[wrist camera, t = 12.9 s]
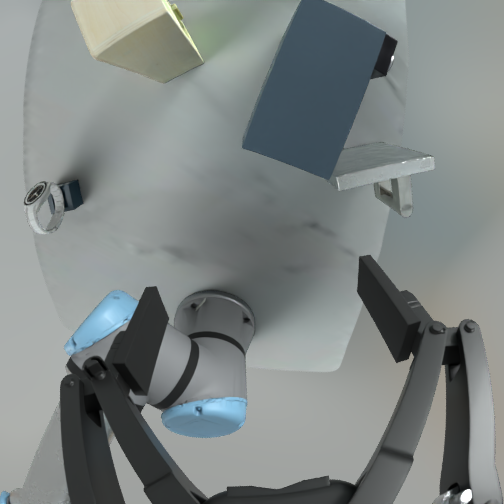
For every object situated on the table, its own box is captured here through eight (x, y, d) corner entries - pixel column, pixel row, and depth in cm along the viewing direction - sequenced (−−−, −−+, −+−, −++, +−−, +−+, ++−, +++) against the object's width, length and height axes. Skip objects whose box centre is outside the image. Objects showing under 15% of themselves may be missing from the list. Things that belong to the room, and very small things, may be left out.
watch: (75, 168, 37) (35, 186, 27) (85, 213, 40) (50, 240, 30) (53, 175, 37) (13, 193, 27) (63, 217, 40) (27, 243, 31)
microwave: (356, 62, 31) (405, 44, 18) (316, 165, 38) (349, 189, 26) (285, 31, 29) (305, -8, 16) (242, 138, 36) (241, 147, 24)
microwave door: (388, 190, 40) (437, 220, 28) (318, 207, 41) (348, 247, 29) (382, 141, 36) (434, 156, 24) (306, 157, 38) (336, 176, 25)
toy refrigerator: (210, 62, 31) (176, 7, 12) (164, 85, 32) (89, 60, 13) (189, 22, 27) (143, -48, 9) (144, 45, 29) (67, 1, 10)
